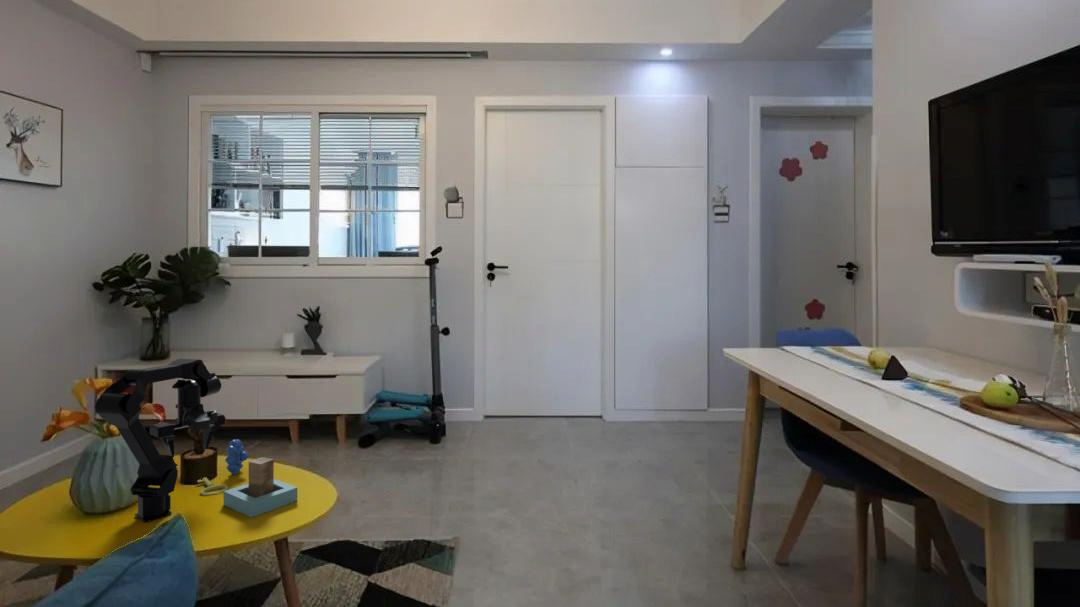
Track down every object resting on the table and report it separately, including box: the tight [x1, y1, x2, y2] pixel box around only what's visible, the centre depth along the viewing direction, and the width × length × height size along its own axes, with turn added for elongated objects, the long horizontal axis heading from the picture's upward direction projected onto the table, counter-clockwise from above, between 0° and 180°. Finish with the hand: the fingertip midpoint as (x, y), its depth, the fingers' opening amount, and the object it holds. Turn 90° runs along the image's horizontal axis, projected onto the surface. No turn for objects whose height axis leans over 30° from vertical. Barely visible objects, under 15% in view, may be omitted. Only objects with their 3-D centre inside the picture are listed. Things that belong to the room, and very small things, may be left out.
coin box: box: [223, 478, 298, 518], centre depth 161 cm, size 14×14×4 cm
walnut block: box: [248, 456, 275, 498], centre depth 160 cm, size 5×5×12 cm
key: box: [197, 476, 229, 497], centre depth 169 cm, size 7×12×2 cm, turn 65°
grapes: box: [224, 438, 250, 475], centre depth 182 cm, size 12×7×12 cm, turn 11°
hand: (189, 453), depth 163 cm, fingers open, 9 cm apart
